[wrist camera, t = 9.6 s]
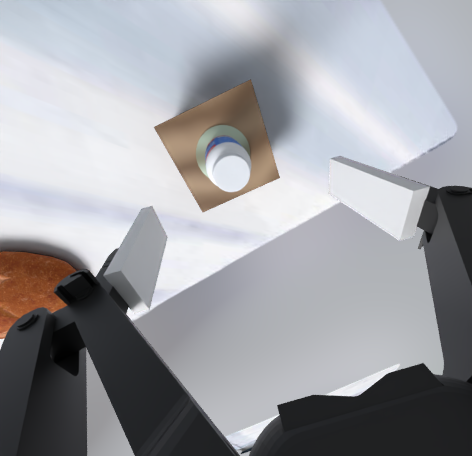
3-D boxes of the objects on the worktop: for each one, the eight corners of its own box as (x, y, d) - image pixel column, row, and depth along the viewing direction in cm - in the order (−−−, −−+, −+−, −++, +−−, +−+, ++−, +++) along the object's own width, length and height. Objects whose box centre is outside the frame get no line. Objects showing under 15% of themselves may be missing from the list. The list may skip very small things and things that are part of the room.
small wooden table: (163, 123, 34) (153, 127, 26) (239, 86, 33) (251, 79, 25) (202, 194, 41) (202, 213, 34) (265, 165, 40) (280, 178, 33)
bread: (-98, 283, 41) (-165, 322, 34) (34, 223, 39) (-6, 251, 32) (6, 337, 53) (-26, 375, 46) (112, 293, 51) (97, 325, 44)
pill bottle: (205, 132, 28) (208, 142, 19) (243, 137, 29) (261, 148, 20) (204, 172, 30) (205, 196, 22) (238, 175, 31) (252, 199, 23)
